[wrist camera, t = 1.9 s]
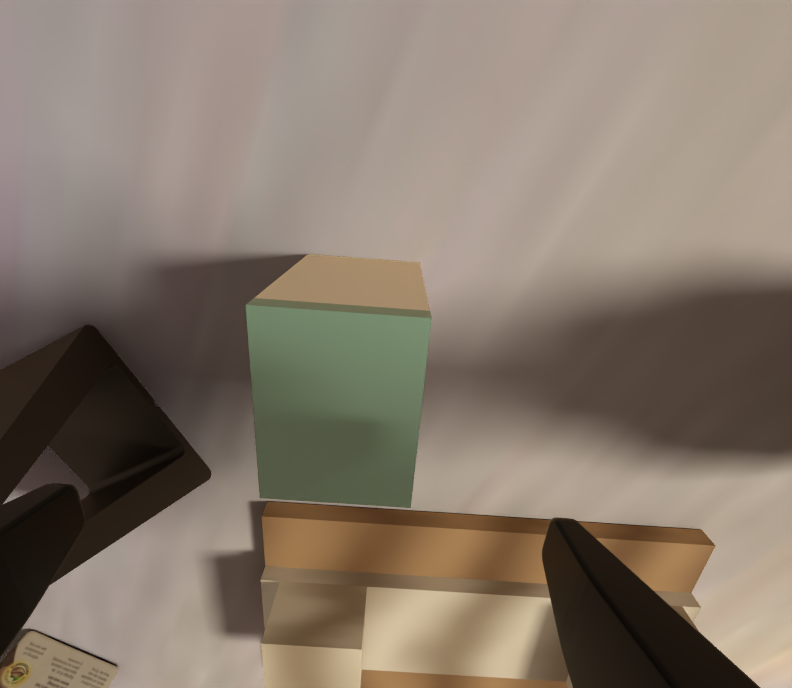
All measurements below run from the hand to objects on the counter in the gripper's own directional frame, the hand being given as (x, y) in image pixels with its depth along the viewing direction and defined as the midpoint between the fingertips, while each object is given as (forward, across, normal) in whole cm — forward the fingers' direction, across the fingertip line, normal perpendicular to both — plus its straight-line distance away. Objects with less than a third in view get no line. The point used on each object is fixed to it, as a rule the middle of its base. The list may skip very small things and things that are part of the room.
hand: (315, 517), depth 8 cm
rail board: (+10, -7, +17) cm, 21 cm away
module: (+10, 0, 0) cm, 11 cm away
